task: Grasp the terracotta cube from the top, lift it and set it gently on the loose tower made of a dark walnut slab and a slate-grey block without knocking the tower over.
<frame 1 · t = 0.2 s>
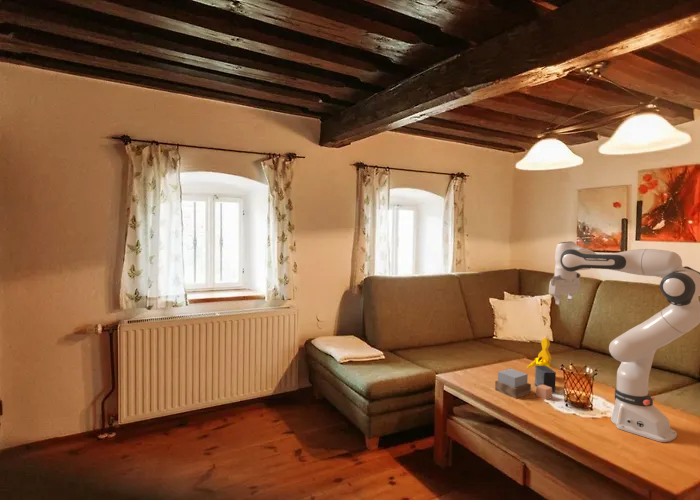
hand: (563, 303, 196), 47 cm above the table, tool pointing down, fingers open, 8 cm apart
figure statuette: (542, 377, 226), on the table
terracotta cube: (543, 396, 200), on the table
small box: (544, 388, 211), on the table
tower top block: (512, 382, 207), point 5 cm above the table, touching tower base slab
tower base slab: (512, 392, 207), on the table, touching tower top block
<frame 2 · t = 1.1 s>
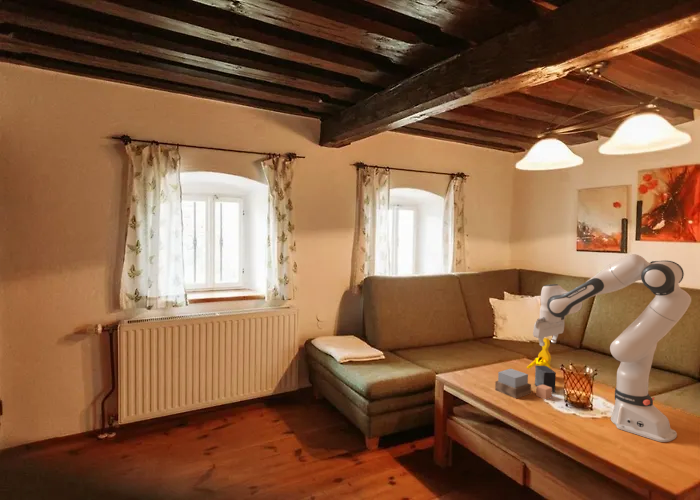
hand: (547, 344, 199), 26 cm above the table, tool pointing down, fingers open, 8 cm apart
nothing on the table moved.
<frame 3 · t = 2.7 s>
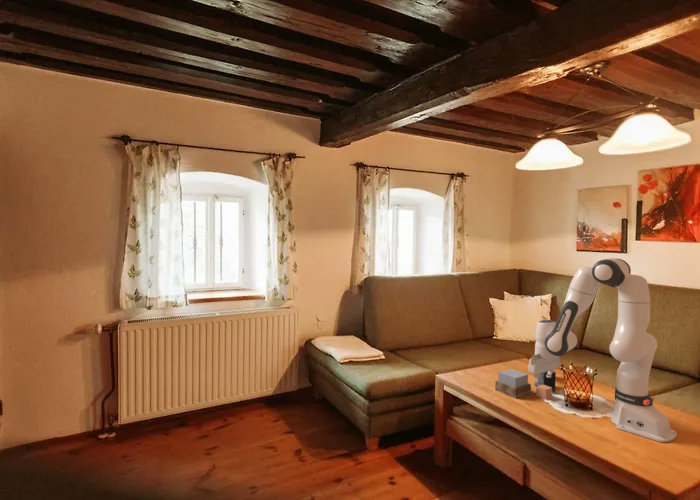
hand: (543, 379, 201), 8 cm above the table, tool pointing down, fingers open, 8 cm apart
nothing on the table moved.
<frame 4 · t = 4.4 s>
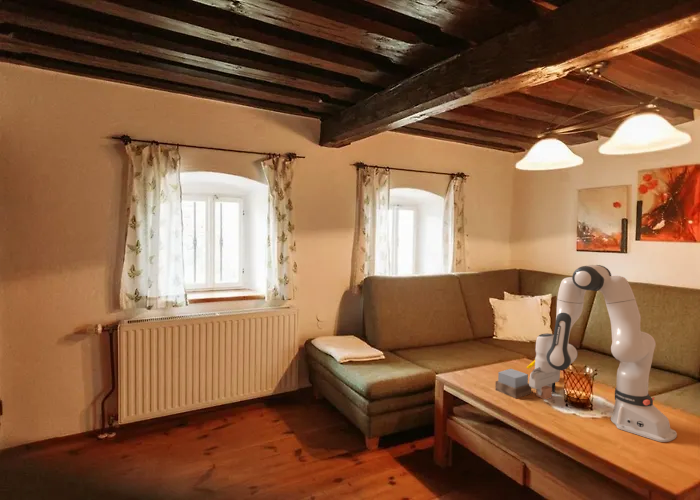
hand: (544, 393, 200), 2 cm above the table, tool pointing down, fingers closed on terracotta cube, 5 cm apart
terracotta cube: (543, 396, 200), on the table, touching gripper
tower top block: (512, 382, 206), point 5 cm above the table
tower base slab: (513, 392, 207), on the table
everything else where it was.
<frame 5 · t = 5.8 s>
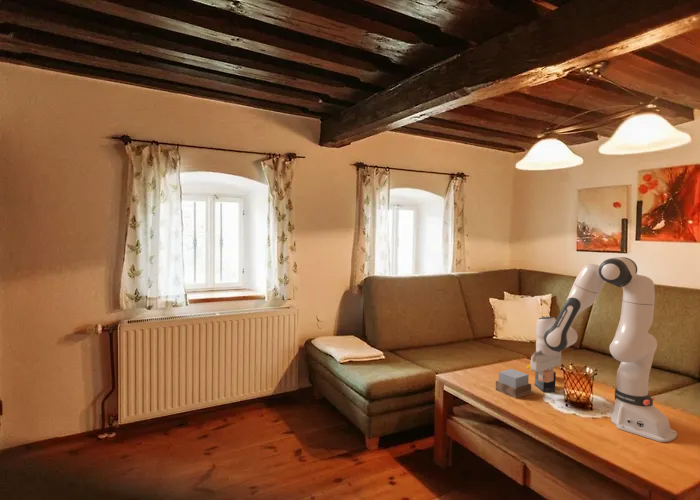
hand: (545, 377, 199), 10 cm above the table, tool pointing down, fingers closed on terracotta cube, 5 cm apart
terracotta cube: (545, 380, 199), point 8 cm above the table, touching gripper
tower top block: (513, 382, 206), point 5 cm above the table, touching tower base slab
tower base slab: (513, 392, 207), on the table, touching tower top block
everything else where it was.
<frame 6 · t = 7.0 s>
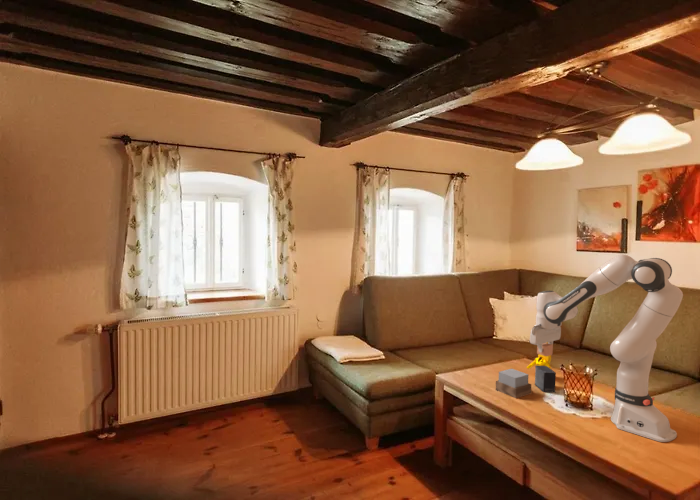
hand: (544, 350, 199), 23 cm above the table, tool pointing down, fingers closed on terracotta cube, 5 cm apart
terracotta cube: (544, 354, 199), point 21 cm above the table, touching gripper
everything else where it was.
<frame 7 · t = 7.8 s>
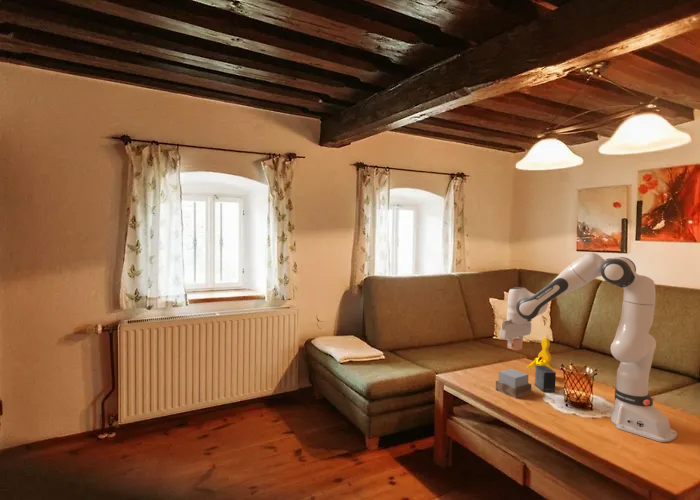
hand: (514, 345, 205), 24 cm above the table, tool pointing down, fingers closed on terracotta cube, 5 cm apart
terracotta cube: (514, 348, 205), point 22 cm above the table, touching gripper
everything else where it was.
when the fingers open (13 cm above the table, at t = 10.6 s): terracotta cube drops 2 cm, resting on tower top block.
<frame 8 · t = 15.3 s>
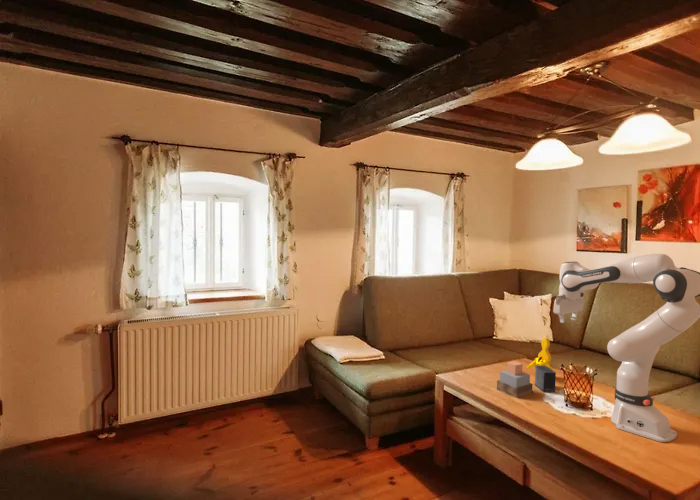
hand: (567, 321, 201), 37 cm above the table, tool pointing down, fingers open, 8 cm apart
terracotta cube: (514, 372, 206), point 10 cm above the table, touching tower top block
tower top block: (514, 382, 206), point 5 cm above the table, touching terracotta cube, tower base slab
everything else where it was.
at the end: terracotta cube 0.4 cm off-centre on the tower top block, point 5.0 cm above the tower top block's base; tower top block 0.5 cm from the tower base slab (horizontally); terracotta cube tilted 0° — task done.
